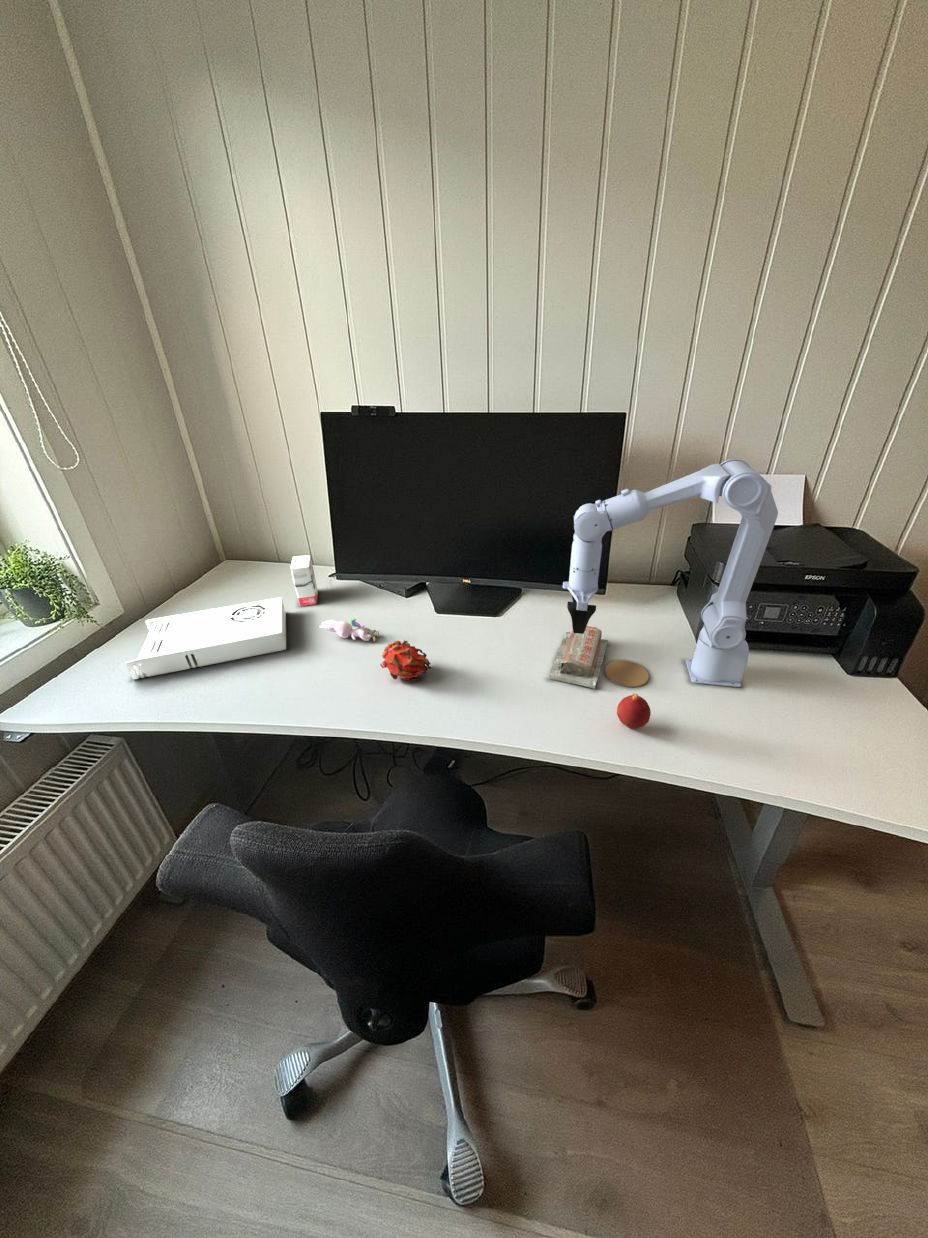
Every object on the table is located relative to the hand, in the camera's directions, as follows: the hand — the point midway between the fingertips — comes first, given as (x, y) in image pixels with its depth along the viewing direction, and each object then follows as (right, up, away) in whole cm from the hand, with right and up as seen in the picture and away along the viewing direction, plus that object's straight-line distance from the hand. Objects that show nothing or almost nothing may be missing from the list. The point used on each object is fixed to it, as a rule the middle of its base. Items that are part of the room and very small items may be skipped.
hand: (578, 623), depth 103 cm
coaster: (+10, -11, +1) cm, 15 cm away
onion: (+7, -20, -13) cm, 24 cm away
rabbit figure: (-53, -4, +17) cm, 56 cm away
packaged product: (+1, -9, +5) cm, 10 cm away
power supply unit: (-86, -5, +16) cm, 88 cm away
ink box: (-69, +7, +35) cm, 78 cm away
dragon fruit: (-37, -12, +3) cm, 39 cm away
